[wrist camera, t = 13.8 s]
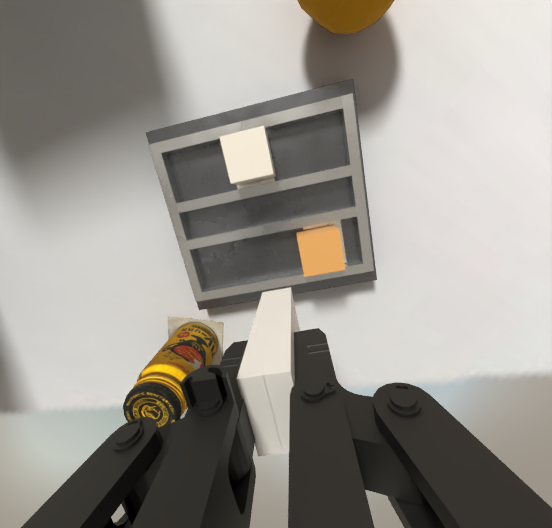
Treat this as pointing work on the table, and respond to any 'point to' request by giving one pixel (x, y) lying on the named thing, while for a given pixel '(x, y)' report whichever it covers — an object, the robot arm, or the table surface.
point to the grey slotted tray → (267, 196)
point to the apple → (345, 13)
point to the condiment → (174, 370)
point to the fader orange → (321, 250)
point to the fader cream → (248, 156)
